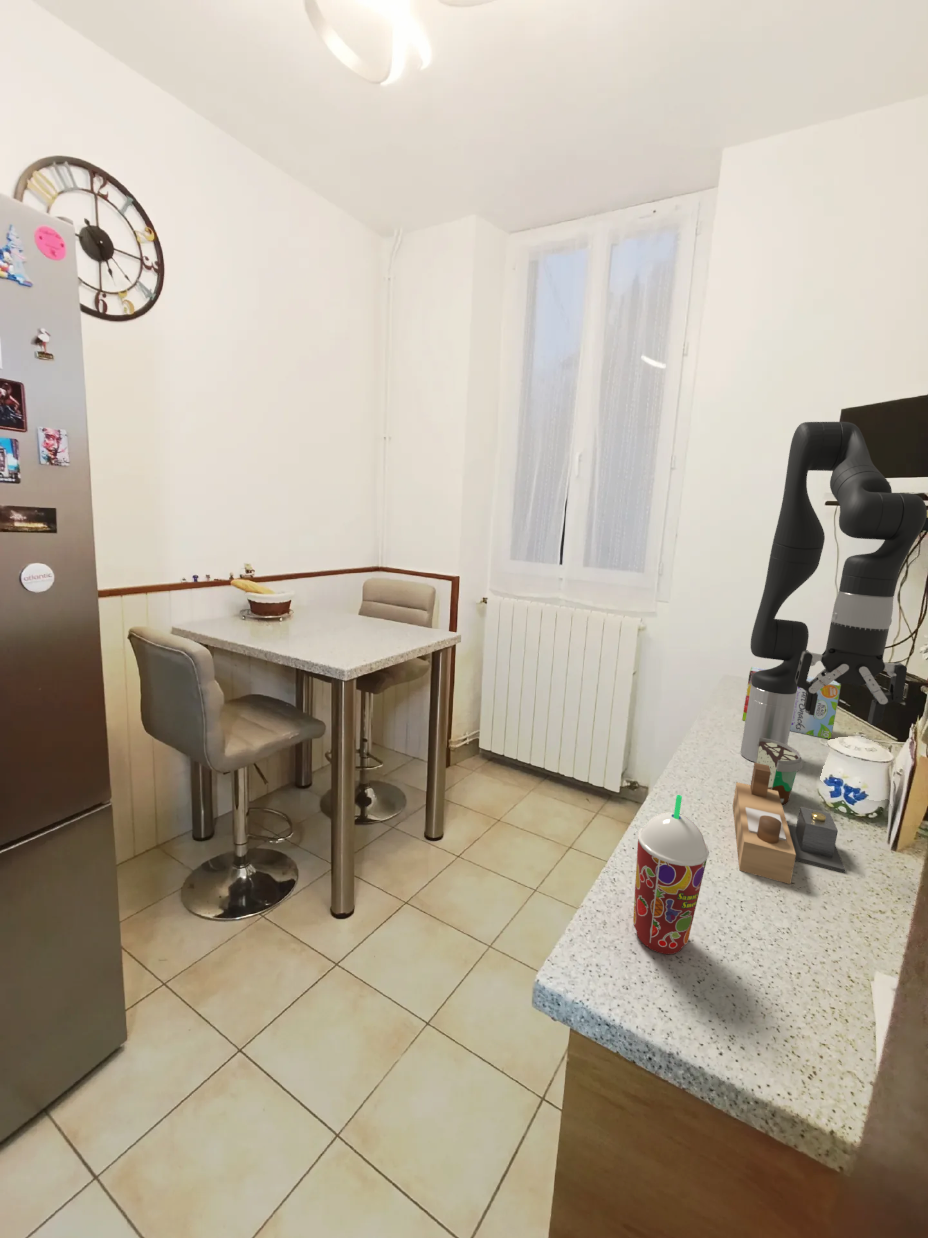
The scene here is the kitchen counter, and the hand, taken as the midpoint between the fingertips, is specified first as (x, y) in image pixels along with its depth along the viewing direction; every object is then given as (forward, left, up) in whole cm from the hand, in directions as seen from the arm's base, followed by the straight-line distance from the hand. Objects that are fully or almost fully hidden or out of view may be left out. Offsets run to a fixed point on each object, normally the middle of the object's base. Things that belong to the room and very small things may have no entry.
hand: (840, 718), depth 89 cm
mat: (+1, 0, -23) cm, 23 cm away
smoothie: (+35, -23, -23) cm, 48 cm away
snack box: (-64, +3, -24) cm, 68 cm away
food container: (-17, -4, -23) cm, 29 cm away
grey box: (+1, -1, -23) cm, 23 cm away
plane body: (+3, -9, -23) cm, 25 cm away
